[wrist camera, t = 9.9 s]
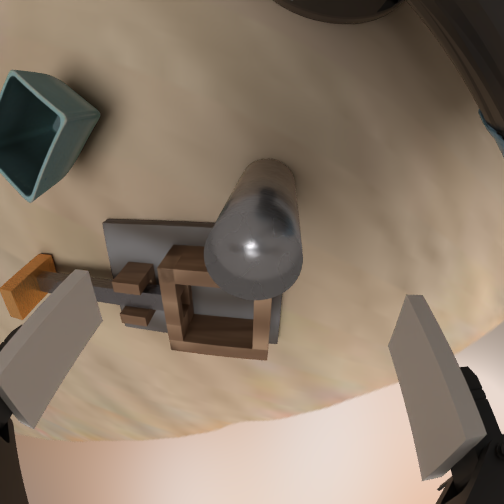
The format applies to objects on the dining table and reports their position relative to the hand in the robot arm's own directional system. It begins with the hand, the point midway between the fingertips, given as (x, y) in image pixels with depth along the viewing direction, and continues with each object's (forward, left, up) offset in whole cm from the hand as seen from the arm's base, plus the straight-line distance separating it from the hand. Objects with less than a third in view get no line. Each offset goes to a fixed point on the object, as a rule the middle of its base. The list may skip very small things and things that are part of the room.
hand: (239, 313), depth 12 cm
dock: (+11, -7, -18) cm, 22 cm away
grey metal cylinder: (0, 0, -18) cm, 18 cm away
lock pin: (+11, -19, -18) cm, 28 cm away
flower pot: (-7, -20, -18) cm, 28 cm away
